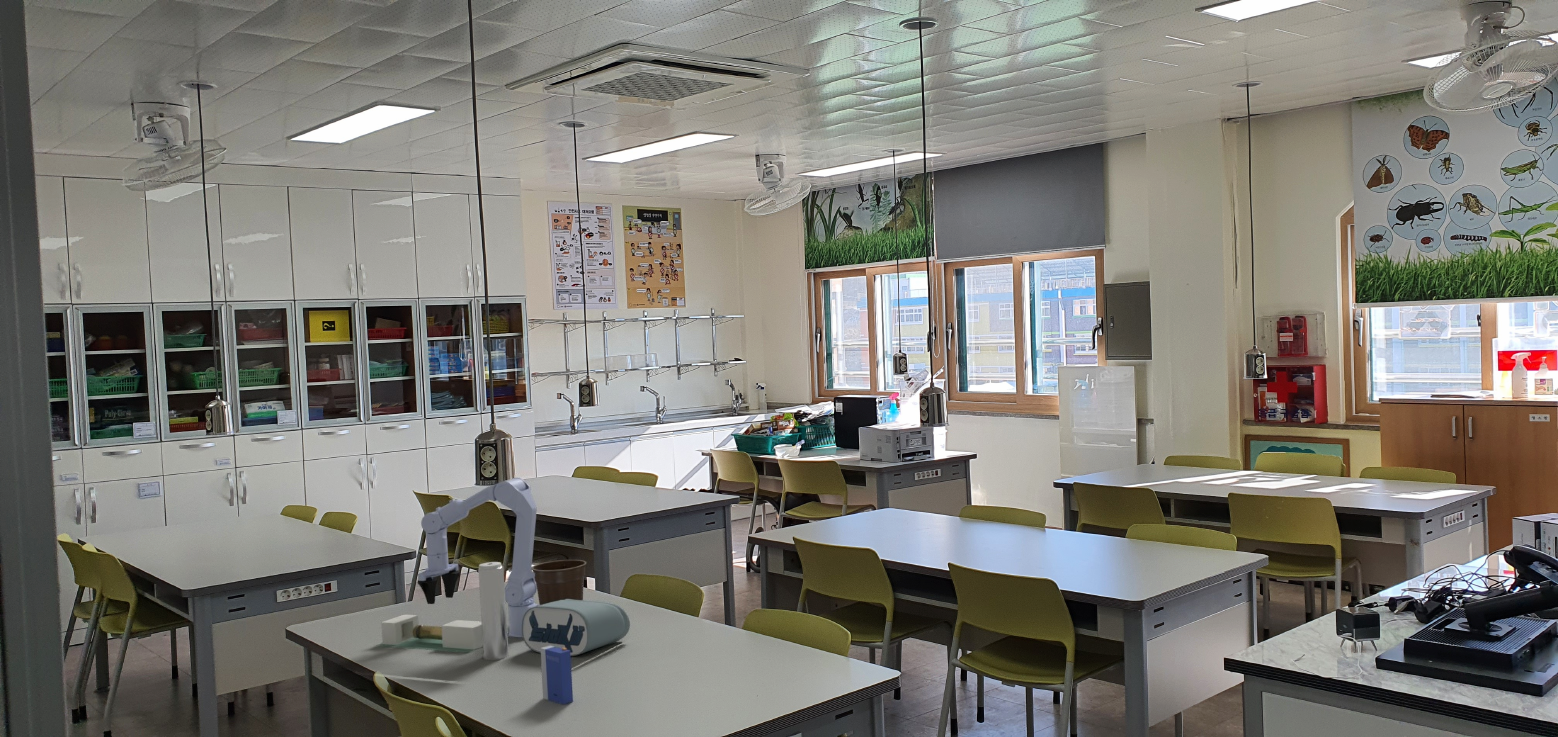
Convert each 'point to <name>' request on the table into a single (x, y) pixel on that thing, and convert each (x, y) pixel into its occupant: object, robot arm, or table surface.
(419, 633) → the tube
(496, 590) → the white tall cylinder
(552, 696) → the walkman
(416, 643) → the mat
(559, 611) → the pencil case
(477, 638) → the sleeve
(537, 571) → the plant pot
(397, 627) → the socket
